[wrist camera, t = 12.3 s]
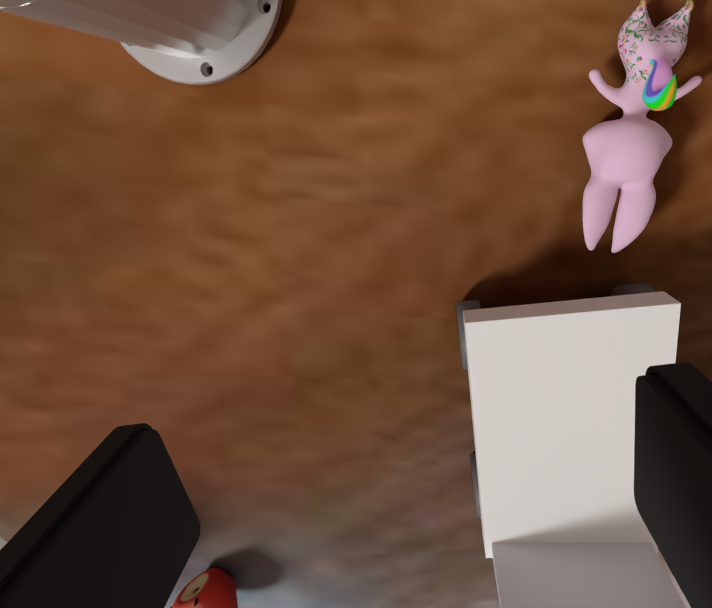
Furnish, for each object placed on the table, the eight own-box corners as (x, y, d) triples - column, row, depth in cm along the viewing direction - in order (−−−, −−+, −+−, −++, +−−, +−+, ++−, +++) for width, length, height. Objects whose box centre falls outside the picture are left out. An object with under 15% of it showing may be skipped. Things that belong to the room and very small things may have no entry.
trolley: (453, 285, 34) (480, 442, 18) (634, 266, 32) (864, 425, 15) (473, 490, 41) (505, 741, 25) (622, 486, 39) (772, 763, 22)
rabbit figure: (591, 2, 28) (545, 244, 31) (637, -51, 22) (574, 253, 26) (699, 7, 27) (640, 254, 31) (775, -45, 22) (692, 265, 25)
